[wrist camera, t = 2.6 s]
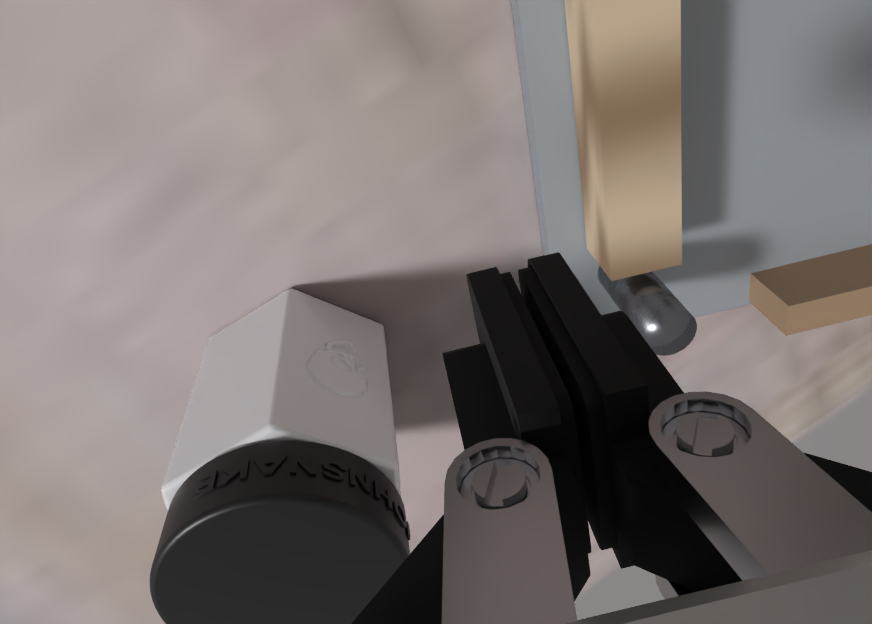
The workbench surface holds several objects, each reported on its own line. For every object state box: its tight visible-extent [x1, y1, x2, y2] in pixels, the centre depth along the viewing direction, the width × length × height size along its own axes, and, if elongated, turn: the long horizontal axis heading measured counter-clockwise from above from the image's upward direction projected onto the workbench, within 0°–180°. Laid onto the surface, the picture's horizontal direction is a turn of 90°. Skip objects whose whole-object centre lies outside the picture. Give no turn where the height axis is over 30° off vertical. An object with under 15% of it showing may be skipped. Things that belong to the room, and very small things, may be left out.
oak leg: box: [565, 0, 682, 281], centre depth 24 cm, size 12×3×3 cm, turn 11°
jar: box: [150, 289, 410, 624], centre depth 26 cm, size 9×8×12 cm
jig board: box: [511, 0, 872, 336], centre depth 25 cm, size 18×20×4 cm
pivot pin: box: [598, 266, 697, 355], centre depth 27 cm, size 2×2×5 cm
